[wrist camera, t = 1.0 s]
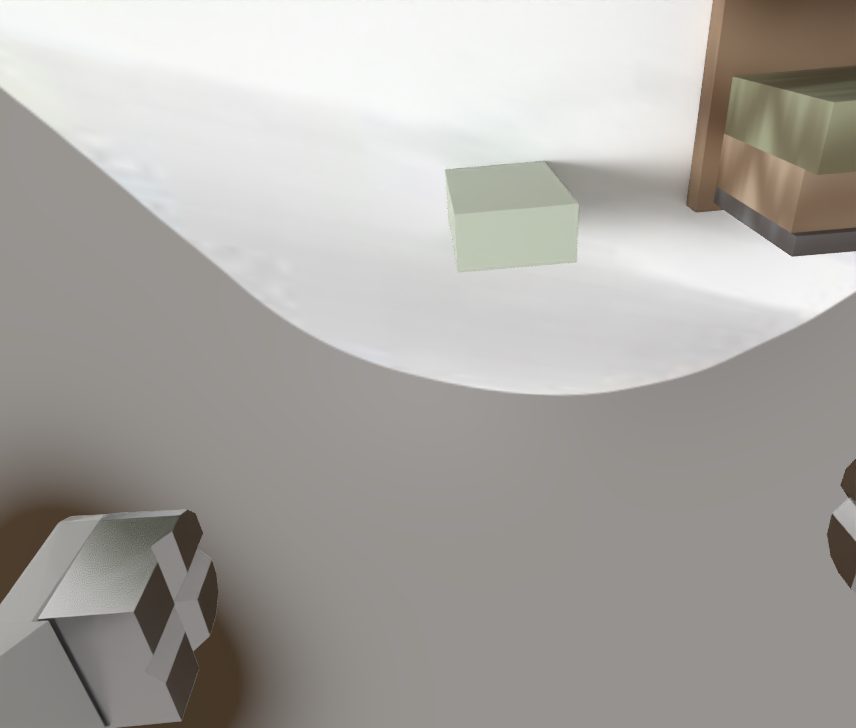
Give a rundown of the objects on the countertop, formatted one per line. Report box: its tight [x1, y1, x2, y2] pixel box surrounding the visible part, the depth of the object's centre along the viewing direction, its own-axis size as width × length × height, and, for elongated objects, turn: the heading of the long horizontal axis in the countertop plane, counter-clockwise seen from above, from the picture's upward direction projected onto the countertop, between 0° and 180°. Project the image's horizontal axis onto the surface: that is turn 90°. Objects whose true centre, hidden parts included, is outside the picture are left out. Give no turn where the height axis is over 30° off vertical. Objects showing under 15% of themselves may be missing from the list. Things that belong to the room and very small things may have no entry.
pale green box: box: [445, 161, 579, 272], centre depth 35 cm, size 3×6×9 cm, turn 94°
